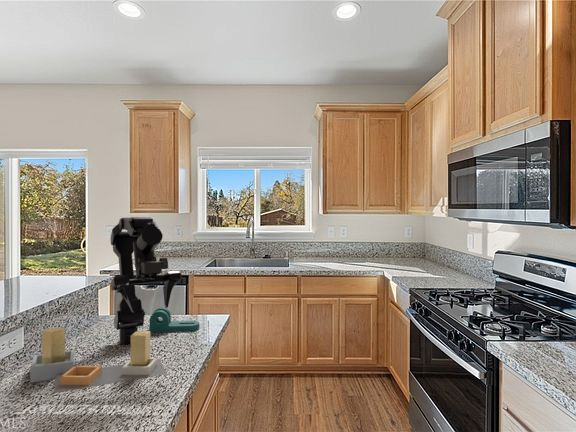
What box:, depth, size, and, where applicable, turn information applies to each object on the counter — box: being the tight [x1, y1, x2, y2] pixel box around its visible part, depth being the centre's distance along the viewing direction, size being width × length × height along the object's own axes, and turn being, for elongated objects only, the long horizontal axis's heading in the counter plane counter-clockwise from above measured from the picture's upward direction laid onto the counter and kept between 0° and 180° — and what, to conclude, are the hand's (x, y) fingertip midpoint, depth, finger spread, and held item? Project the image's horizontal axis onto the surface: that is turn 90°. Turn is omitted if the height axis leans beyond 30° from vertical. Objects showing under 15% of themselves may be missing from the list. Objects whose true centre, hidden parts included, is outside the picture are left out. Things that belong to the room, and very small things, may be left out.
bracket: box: [148, 307, 201, 333], centre depth 155 cm, size 18×7×8 cm, turn 98°
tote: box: [29, 349, 75, 384], centre depth 112 cm, size 10×10×4 cm
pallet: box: [52, 357, 167, 394], centre depth 108 cm, size 12×26×4 cm, turn 117°
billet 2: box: [130, 330, 151, 366], centre depth 111 cm, size 4×4×10 cm
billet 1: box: [41, 326, 66, 365], centre depth 112 cm, size 4×4×10 cm
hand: (150, 309), depth 113 cm, fingers open, 9 cm apart
